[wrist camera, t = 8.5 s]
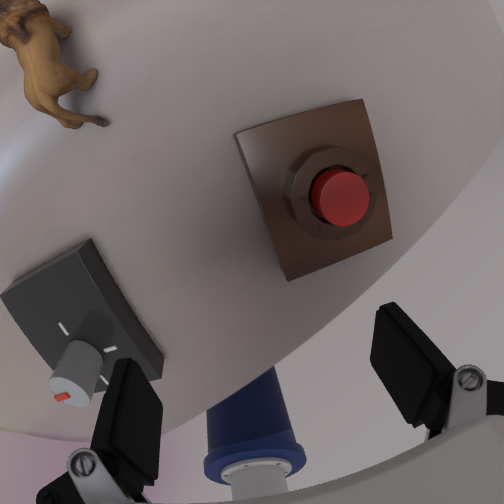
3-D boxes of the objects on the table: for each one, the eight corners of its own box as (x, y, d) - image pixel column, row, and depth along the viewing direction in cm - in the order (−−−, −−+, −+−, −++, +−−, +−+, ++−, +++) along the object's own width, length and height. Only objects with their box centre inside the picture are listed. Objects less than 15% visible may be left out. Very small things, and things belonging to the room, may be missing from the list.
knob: (84, 334, 21) (63, 375, 16) (111, 364, 23) (98, 406, 18) (59, 346, 21) (39, 384, 16) (85, 374, 23) (71, 413, 18)
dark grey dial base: (164, 357, 27) (161, 379, 24) (83, 378, 27) (76, 397, 24) (91, 237, 21) (76, 252, 18) (13, 281, 21) (-2, 296, 18)
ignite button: (362, 209, 20) (373, 216, 18) (318, 226, 20) (327, 234, 18) (351, 162, 18) (363, 165, 16) (304, 177, 18) (313, 181, 16)
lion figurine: (16, 48, 13) (-43, 32, 5) (56, 6, 12) (6, -28, 4) (87, 148, 18) (22, 158, 10) (136, 100, 18) (89, 79, 9)
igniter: (380, 230, 24) (404, 246, 21) (281, 270, 25) (293, 293, 21) (350, 101, 20) (375, 96, 16) (233, 134, 20) (237, 132, 16)
